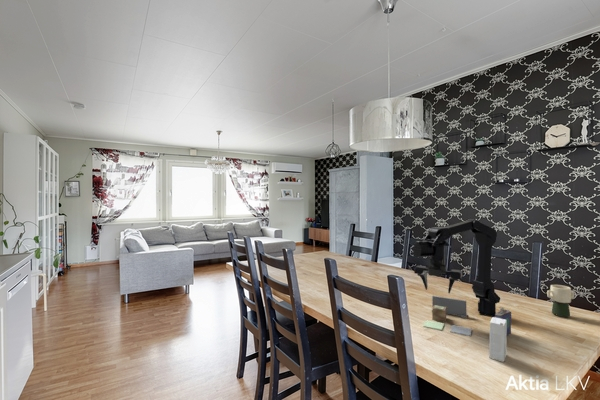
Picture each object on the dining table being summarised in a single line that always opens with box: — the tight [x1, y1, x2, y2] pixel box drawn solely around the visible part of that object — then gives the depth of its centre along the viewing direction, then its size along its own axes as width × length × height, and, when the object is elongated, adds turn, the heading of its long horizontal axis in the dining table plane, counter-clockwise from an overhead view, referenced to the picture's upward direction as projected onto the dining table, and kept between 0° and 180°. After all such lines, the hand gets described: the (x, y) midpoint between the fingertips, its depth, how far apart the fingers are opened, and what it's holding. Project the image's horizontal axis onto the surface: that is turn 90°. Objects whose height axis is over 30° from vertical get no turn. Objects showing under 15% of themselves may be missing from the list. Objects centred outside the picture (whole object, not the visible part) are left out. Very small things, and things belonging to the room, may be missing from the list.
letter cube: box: [431, 305, 447, 323], centre depth 132 cm, size 5×5×5 cm
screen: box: [431, 295, 468, 319], centre depth 138 cm, size 14×5×7 cm, turn 58°
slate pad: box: [450, 324, 472, 337], centre depth 119 cm, size 7×7×1 cm
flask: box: [495, 306, 512, 337], centre depth 115 cm, size 9×3×11 cm, turn 121°
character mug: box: [546, 284, 575, 318], centre depth 135 cm, size 11×7×13 cm, turn 83°
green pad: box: [423, 319, 445, 331], centre depth 125 cm, size 7×7×1 cm
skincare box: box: [488, 316, 508, 363], centre depth 100 cm, size 6×4×12 cm
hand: (437, 291), depth 132 cm, fingers open, 9 cm apart
